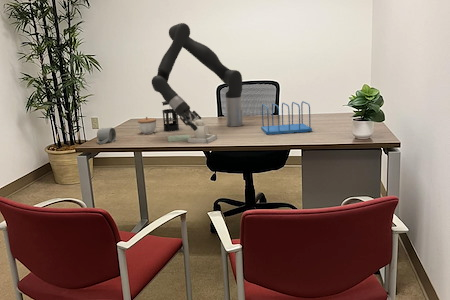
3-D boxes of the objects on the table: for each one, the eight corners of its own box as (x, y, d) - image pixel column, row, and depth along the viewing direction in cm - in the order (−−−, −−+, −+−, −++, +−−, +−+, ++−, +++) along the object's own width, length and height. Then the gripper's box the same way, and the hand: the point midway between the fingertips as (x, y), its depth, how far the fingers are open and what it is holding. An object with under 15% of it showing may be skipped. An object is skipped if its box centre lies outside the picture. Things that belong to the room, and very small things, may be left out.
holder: (188, 142, 233) (187, 138, 232) (197, 137, 243) (197, 134, 242) (207, 143, 228) (207, 139, 228) (216, 138, 238) (216, 134, 238)
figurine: (192, 141, 235) (191, 120, 232) (197, 138, 240) (196, 118, 237) (206, 142, 232) (205, 121, 229) (211, 139, 237) (210, 119, 234)
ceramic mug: (103, 139, 249) (102, 126, 247) (117, 139, 247) (115, 126, 245) (93, 144, 239) (91, 130, 237) (107, 144, 237) (105, 130, 235)
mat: (190, 135, 249) (190, 134, 249) (191, 140, 237) (190, 139, 237) (168, 137, 248) (168, 136, 248) (168, 141, 236) (168, 140, 236)
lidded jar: (148, 130, 270) (147, 115, 268) (160, 132, 264) (159, 116, 261) (134, 133, 262) (133, 117, 260) (147, 135, 256) (145, 119, 253)
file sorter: (303, 126, 261) (303, 100, 257) (312, 132, 244) (312, 104, 240) (261, 129, 258) (260, 102, 255) (267, 135, 241) (266, 107, 238)
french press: (174, 131, 262) (172, 92, 257) (160, 131, 265) (157, 92, 260) (182, 127, 273) (180, 90, 268) (168, 127, 276) (166, 90, 271)
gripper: (176, 102, 228) (198, 125, 226) (189, 99, 241) (210, 120, 239) (168, 113, 232) (189, 135, 230) (181, 108, 244) (201, 130, 242)
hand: (200, 128), depth 234 cm, fingers open, 8 cm apart
